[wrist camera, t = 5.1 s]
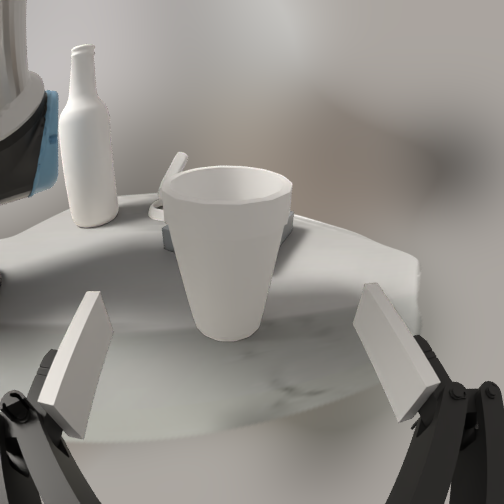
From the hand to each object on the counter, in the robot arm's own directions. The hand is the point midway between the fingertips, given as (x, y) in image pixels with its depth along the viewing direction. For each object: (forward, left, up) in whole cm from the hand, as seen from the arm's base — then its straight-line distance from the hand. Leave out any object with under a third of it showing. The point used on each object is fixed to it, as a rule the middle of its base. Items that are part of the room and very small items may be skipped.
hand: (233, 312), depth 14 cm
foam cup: (-5, +9, -10) cm, 14 cm away
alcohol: (-37, +19, -10) cm, 43 cm away
